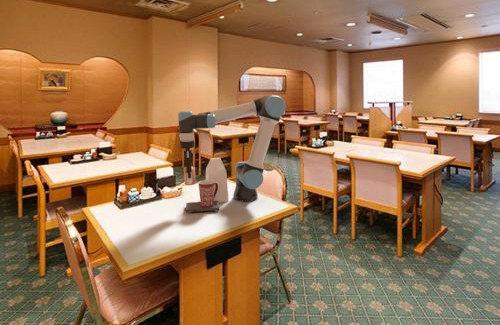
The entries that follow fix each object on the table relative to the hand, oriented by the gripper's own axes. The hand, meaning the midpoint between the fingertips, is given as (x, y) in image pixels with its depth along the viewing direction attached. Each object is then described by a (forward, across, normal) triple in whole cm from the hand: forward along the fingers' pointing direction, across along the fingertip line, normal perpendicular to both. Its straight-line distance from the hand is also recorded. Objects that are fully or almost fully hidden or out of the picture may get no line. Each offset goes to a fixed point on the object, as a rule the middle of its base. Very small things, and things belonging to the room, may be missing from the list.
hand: (189, 182), depth 178 cm
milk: (+17, -16, +15) cm, 28 cm away
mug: (+14, -1, +10) cm, 18 cm away
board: (+16, 0, +6) cm, 17 cm away
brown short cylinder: (+1, 0, 0) cm, 1 cm away
